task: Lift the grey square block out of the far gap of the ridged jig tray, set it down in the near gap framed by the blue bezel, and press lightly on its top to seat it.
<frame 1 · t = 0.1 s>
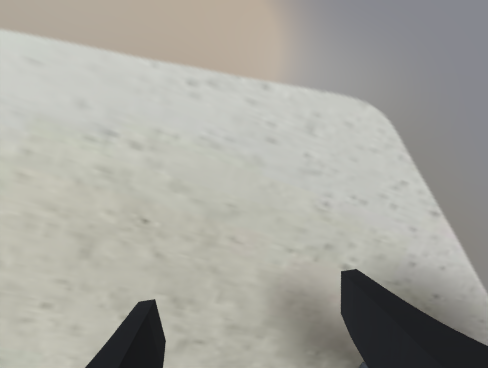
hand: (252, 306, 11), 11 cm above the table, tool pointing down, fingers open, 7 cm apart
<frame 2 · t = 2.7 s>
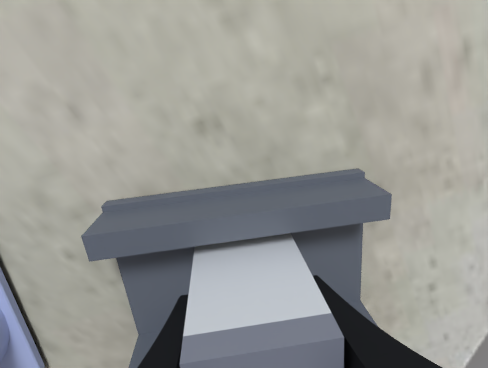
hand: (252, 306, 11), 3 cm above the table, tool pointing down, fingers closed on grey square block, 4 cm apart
grey square block: (246, 270, 13), point 1 cm above the table, touching ridged jig tray, gripper
ridged jig tray: (256, 362, 16), on the table
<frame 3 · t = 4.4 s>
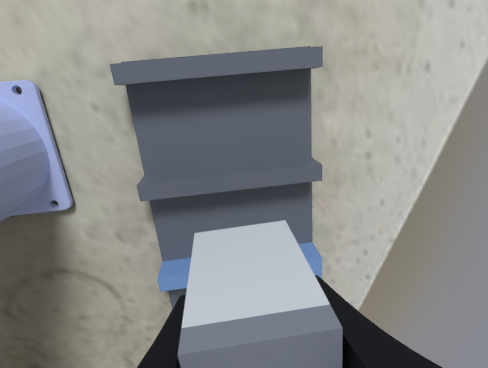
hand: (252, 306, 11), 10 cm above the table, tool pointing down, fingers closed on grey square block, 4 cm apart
grey square block: (245, 265, 13), point 8 cm above the table, touching gripper
ridged jig tray: (234, 214, 21), on the table
when the fingers open (4 cm above the table, at t = 6.4 s): grey square block stays where it is, resting on ridged jig tray.
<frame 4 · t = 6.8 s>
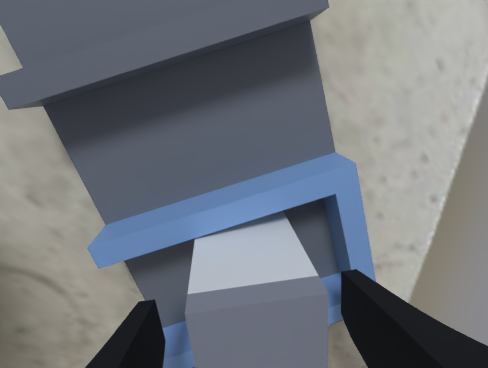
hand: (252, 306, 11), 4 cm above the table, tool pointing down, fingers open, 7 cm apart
grey square block: (243, 250, 14), point 1 cm above the table, touching ridged jig tray
ridged jig tray: (200, 128, 13), on the table
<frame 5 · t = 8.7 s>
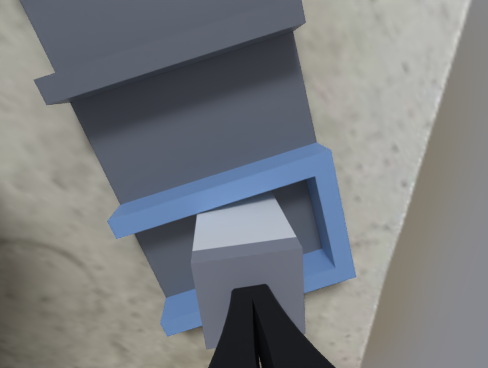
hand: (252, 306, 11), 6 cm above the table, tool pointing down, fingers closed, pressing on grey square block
grey square block: (239, 227, 16), point 1 cm above the table, touching ridged jig tray, gripper
ridged jig tray: (201, 122, 15), on the table
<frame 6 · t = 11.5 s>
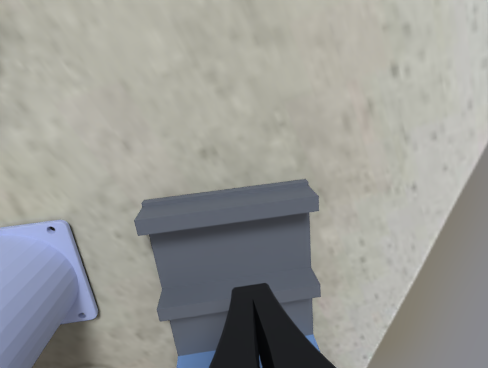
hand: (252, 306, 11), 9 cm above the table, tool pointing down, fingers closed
ridged jig tray: (242, 312, 23), on the table
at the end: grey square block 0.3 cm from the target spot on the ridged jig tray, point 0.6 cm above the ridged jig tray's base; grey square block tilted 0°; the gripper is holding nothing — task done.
